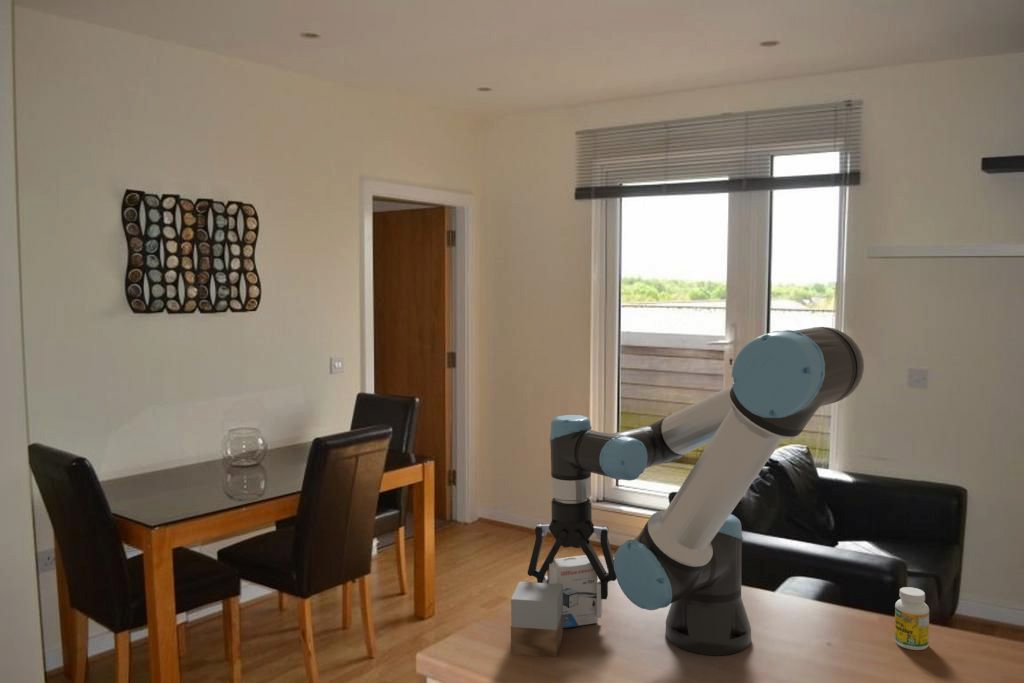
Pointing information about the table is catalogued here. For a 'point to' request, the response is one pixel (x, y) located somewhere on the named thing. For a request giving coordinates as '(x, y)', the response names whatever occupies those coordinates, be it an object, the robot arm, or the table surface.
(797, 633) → the table surface
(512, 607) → the grey block
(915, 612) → the supplement bottle
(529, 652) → the walnut block
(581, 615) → the ink box
